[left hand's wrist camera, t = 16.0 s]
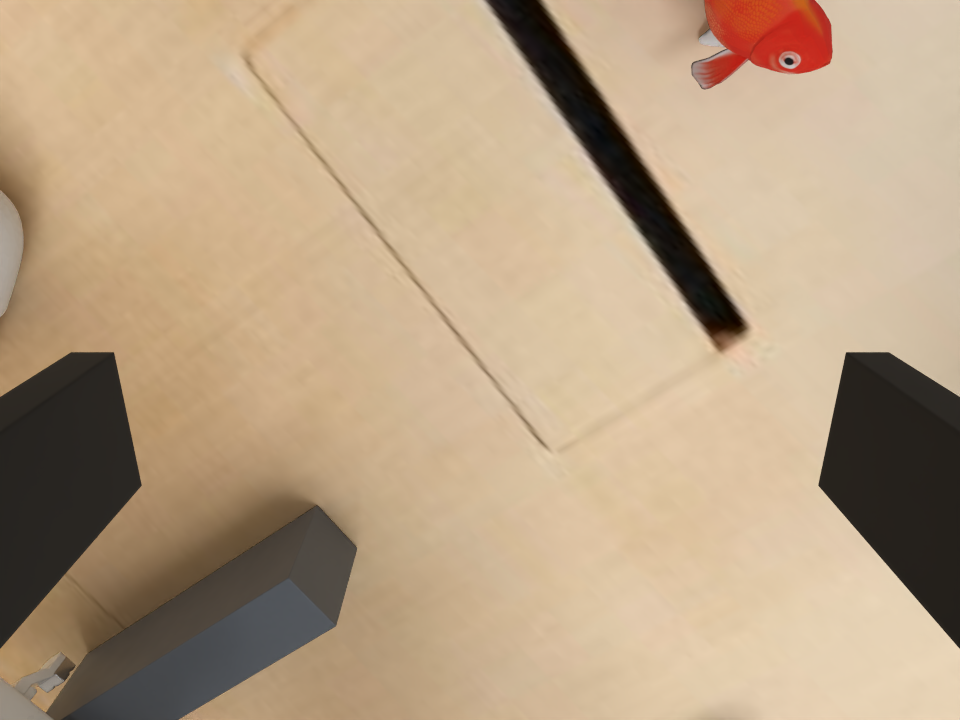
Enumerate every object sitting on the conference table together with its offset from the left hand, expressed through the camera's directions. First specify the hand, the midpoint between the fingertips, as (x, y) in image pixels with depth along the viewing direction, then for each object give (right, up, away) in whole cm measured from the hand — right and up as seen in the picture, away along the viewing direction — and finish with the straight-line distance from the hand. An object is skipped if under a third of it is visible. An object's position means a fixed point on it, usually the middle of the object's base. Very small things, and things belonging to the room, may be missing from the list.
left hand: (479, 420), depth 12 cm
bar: (-20, -18, +41) cm, 49 cm away
